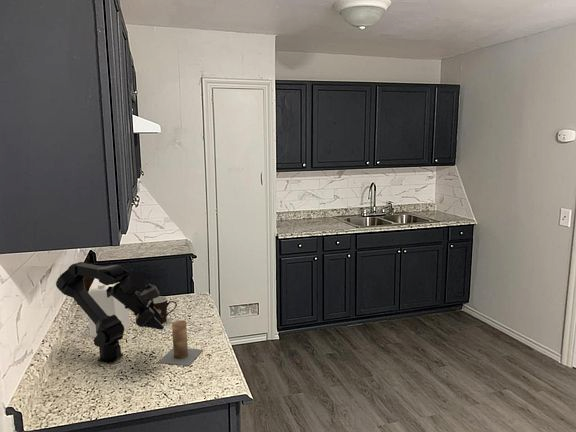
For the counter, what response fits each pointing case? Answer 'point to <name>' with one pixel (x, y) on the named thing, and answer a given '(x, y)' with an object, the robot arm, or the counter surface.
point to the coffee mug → (162, 307)
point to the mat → (185, 361)
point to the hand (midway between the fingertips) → (162, 324)
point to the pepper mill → (179, 339)
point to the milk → (107, 305)
